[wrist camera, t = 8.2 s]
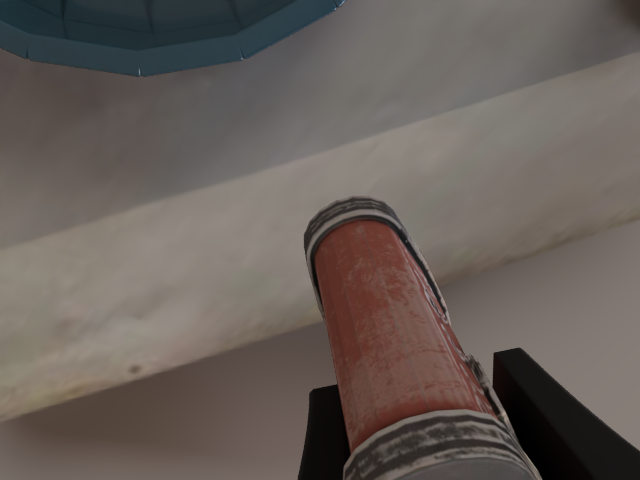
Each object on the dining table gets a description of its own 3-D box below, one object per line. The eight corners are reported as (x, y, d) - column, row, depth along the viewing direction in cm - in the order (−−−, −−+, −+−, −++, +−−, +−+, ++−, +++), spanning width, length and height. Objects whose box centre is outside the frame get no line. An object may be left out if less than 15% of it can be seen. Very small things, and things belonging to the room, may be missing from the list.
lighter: (466, 370, 17) (688, 820, 8) (374, 404, 17) (494, 867, 8) (396, 174, 12) (712, 691, 4) (276, 225, 13) (322, 798, 4)
